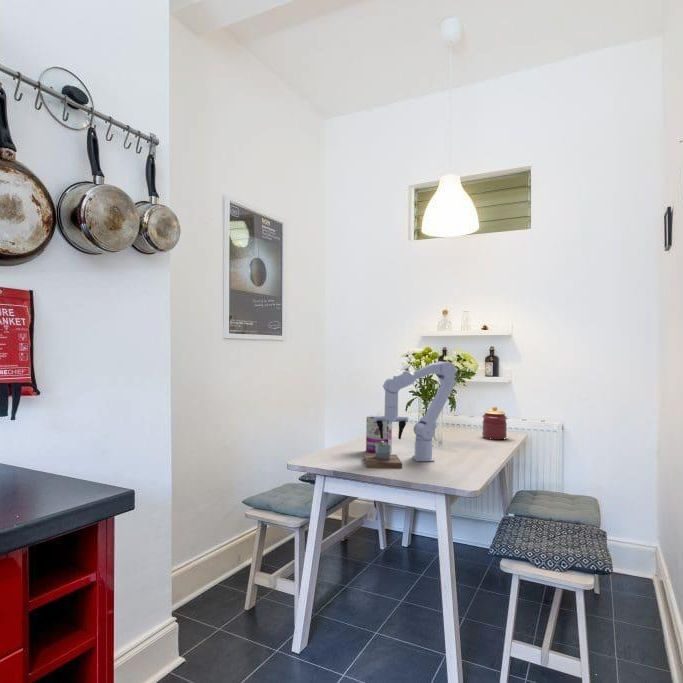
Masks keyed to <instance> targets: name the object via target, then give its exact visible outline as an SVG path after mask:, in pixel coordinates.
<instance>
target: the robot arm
mask: <svg viewBox="0 0 683 683" xmlns="http://www.w3.org/2000/svg"><path fill="white" fill-rule="evenodd" d="M456 373H457V369H456V367H455V365H454V364H453V363H452V362H451V361H440V360H439V361H436V362H432V363H430V364H428V365H426V366H423V367H421V368H420V369H417V370H415V371H413V372H411V371H403V372H402V373H401V374H398V375H393V376H392V378H387V379H386V380H385V381H384V383H383V385H382V387H383V390H384V414H383V415H384V416H378V415H377V416H378V417H374V422H376V423H377V425H378V428H379V431H380V436H381V439H383V422H382V421H385V422H392V423H394V422H396V423H397V422H398V435H397V438H398V440H401V439H402V434H403V432H404V429H405V427H406V424H407V423H409V417H408V416H399V391H400V390H402V389H404V388H406V387H409V386H411V385H413V384H414V383H415V382H416V380H418V379H421V378H423V377H426V376H428V375H431V374H433V375H434V374H435V375H436V377H437V379H438V380H439V383H440V386H439V387H438V389H437V391H436V394H434V397H433V399H432V401H431V403H430V405H429V407H428V408H427V411H426V413H425V415H423V416H422V417H421V418H420V419H419V421H418V422H417V423H415V425H414V426H413V433H414V434H415V441H414V455H412V458H413V459H414V461H416V462H435V459H434V458H433V438H434V436H435V434H436V428H437V420H438V418H439V416H440V415H441V412H442V410H443V409H444V407H445V404H446V403H447V401H448V399H449V398H450V395H451V393H452V391H453V389H454V387H455V384H456V383H455V382H456V380H455V378H456Z"/></svg>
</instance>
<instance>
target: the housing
mask: <svg viewBox="0 0 683 683" xmlns="http://www.w3.org/2000/svg"><path fill="white" fill-rule="evenodd" d="M374 454H375V456H376V458H377V460H385V461H390V454H391V453H390V445H389V444H388V442H383V441H381V442H376V452H375V453H374Z"/></svg>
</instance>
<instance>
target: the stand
mask: <svg viewBox="0 0 683 683" xmlns="http://www.w3.org/2000/svg"><path fill="white" fill-rule="evenodd" d="M363 460H364V462H365V464H366V467H367V468H369V469H370V468H371V469H374V468H375V469H376V468H377V469H402V468H403V462H402V461H401V459H400V458H399V457H398V455H397V454H391V453H390V461H385V460H377V458H376V456H375V453H364V454H363Z"/></svg>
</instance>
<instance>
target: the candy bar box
mask: <svg viewBox="0 0 683 683" xmlns="http://www.w3.org/2000/svg"><path fill="white" fill-rule="evenodd" d="M374 417H378V415H369V416H368V415H367V416H366V432H365V433H366V436H365V438H366V439H365V440H366V441H365V444H366V445H365V452H368V453H372V454H375V452H376V442H381V441H383V442H388V444H389V445H390V454H391V453H392V451H393V450H392V445H393V442H392V441H393V440H392V439H393V437H392V436H393V434H392V433H393V422H385V421H382V422H383V439H381V436H380V431H379V428H378V425H377V423H376V422H374Z"/></svg>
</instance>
